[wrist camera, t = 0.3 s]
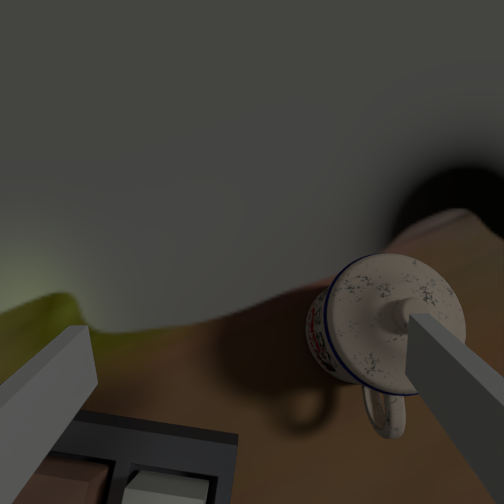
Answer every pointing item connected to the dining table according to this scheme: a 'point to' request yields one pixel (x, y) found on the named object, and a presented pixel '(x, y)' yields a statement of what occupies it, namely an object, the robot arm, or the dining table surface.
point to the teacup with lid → (378, 329)
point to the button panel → (150, 452)
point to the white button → (165, 489)
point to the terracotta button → (65, 482)
